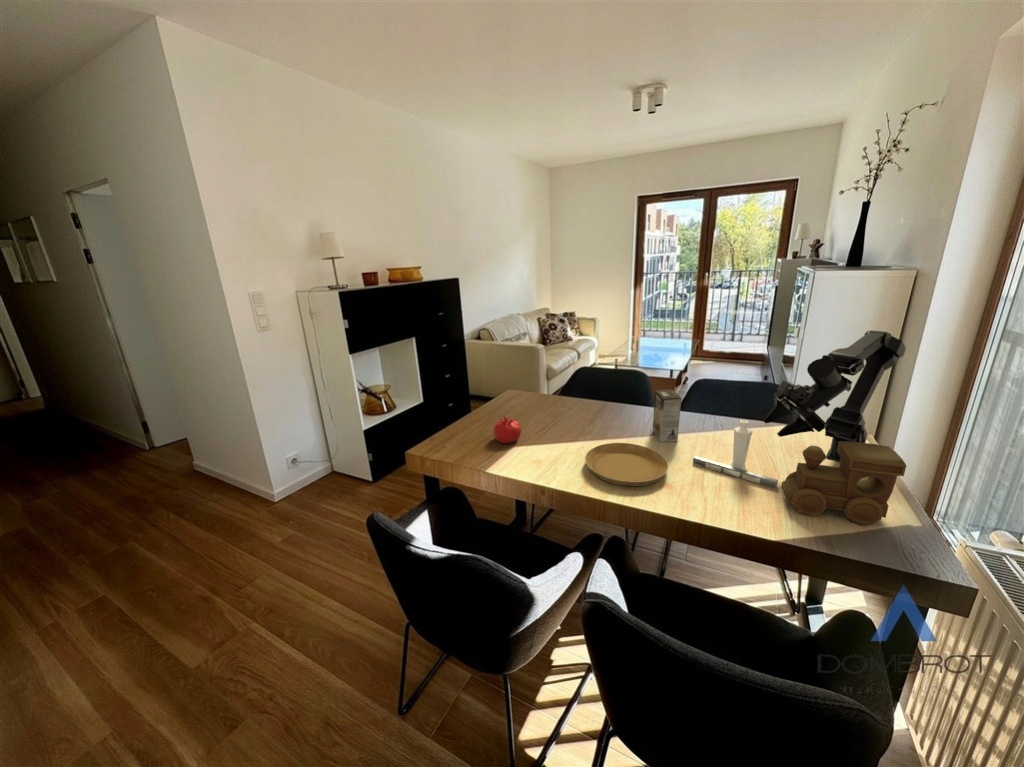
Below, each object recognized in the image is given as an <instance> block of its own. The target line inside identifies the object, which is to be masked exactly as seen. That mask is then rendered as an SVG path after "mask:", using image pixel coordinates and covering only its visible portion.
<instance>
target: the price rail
mask: <svg viewBox="0 0 1024 767" xmlns="http://www.w3.org/2000/svg"><path fill="white" fill-rule="evenodd" d="M693 464H694V465H696V466H700V467H703V468H706V469H708V470H713V471H716V472H719V473H722V474H727V475H729V476H733V477H736V478H739V479H742V480H746V481H749V482H750V483H751V482H752V483H754V484H758V485H761V486H762V485H763V486H765V487H768V488H771V489H774V490H776V489H777V487H778V483H779V479H778V478H777V479H776V478H773V477H769V476H766V475H762V474H759V473H756V472H752V471H749V470H746V469H745V470H742V469H739V468H736V467H732V466H731V465H728V464H725V463H721V462H717V461H715V460H712V459H708V458H705V457H701V456H698V455H694V457H693V458H692V465H693Z"/></svg>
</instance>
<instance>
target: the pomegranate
mask: <svg viewBox="0 0 1024 767" xmlns="http://www.w3.org/2000/svg"><path fill="white" fill-rule="evenodd" d="M509 418H510V417H509V416H503V419H502V418H498V419H499V421H497V423H496V424H495V425H494V428H493V436H494V438H495V440H496V441H497V442H499V443H501V444H510V443H513V442H516V441H517V440H519V439H520V436H521V433H522V427H521V425H520V423H519V422H518V421H516V419H515V418H511V419H509Z"/></svg>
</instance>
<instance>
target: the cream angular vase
mask: <svg viewBox="0 0 1024 767" xmlns="http://www.w3.org/2000/svg"><path fill="white" fill-rule="evenodd" d="M748 424H749V421H748V420H745V419H741V420H739V426H738V427H734V429H733V430H734V431H733V447H732V449H733V450H732V451H733V452H732V463H731V464H730V466H732V467H736V468H739V469H742V470H746V462H747V461H746V460H747V455H748V452H749V447H750V442H751V439H752V433H753V430H751V429H750V428H748Z"/></svg>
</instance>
